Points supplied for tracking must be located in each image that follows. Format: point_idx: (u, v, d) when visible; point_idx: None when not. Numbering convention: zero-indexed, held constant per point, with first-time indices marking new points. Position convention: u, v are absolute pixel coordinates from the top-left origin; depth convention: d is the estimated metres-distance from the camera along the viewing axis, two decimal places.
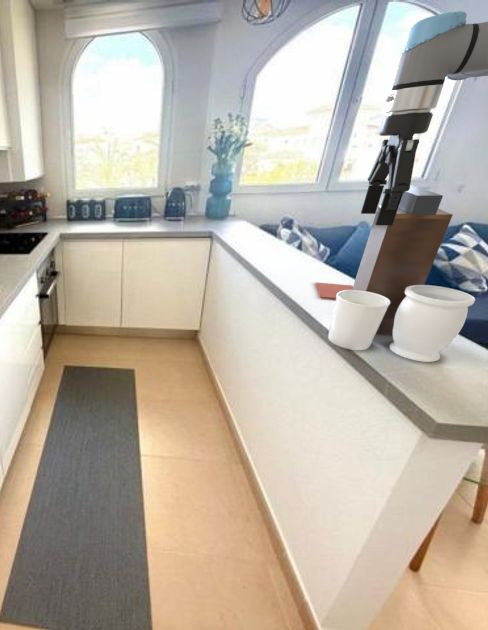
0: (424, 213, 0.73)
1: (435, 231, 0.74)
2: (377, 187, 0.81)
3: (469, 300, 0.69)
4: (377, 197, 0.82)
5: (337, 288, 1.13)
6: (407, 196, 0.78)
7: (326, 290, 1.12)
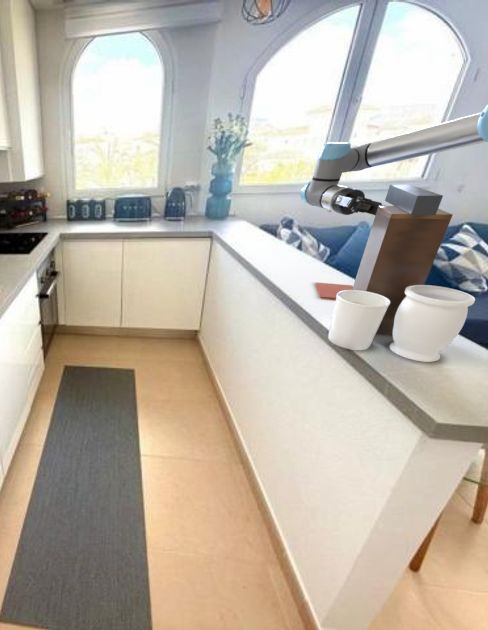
0: (424, 213, 0.73)
1: (435, 231, 0.74)
2: None
3: (469, 300, 0.69)
4: None
5: (337, 288, 1.13)
6: (407, 196, 0.78)
7: (326, 290, 1.12)
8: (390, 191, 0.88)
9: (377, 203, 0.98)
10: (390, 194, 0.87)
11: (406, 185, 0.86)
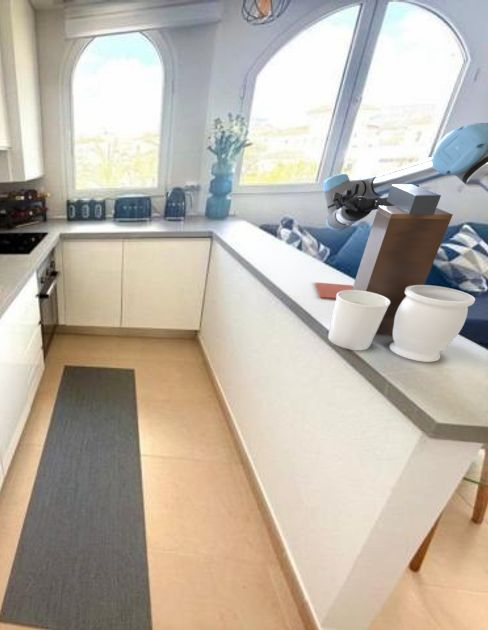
0: (422, 213, 0.74)
1: (435, 231, 0.74)
2: None
3: (469, 300, 0.69)
4: None
5: (337, 288, 1.13)
6: (406, 196, 0.78)
7: (326, 290, 1.12)
8: (391, 191, 0.88)
9: (376, 198, 1.08)
10: (391, 194, 0.87)
11: (407, 185, 0.86)
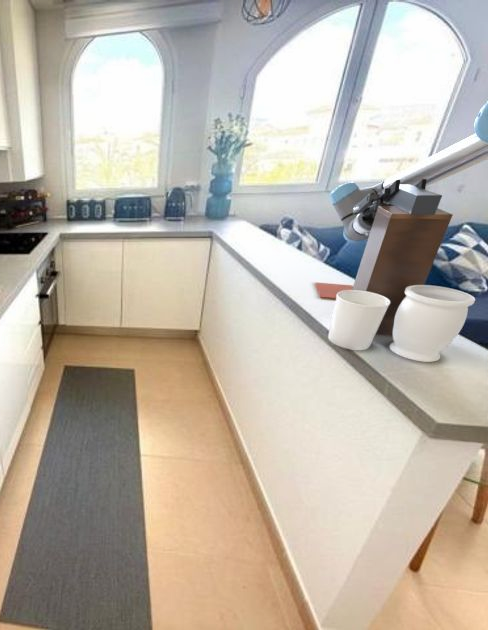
0: (423, 213, 0.74)
1: (435, 231, 0.74)
2: None
3: (469, 300, 0.69)
4: None
5: (337, 288, 1.13)
6: (406, 196, 0.78)
7: (326, 290, 1.12)
8: None
9: None
10: None
11: (406, 185, 0.86)
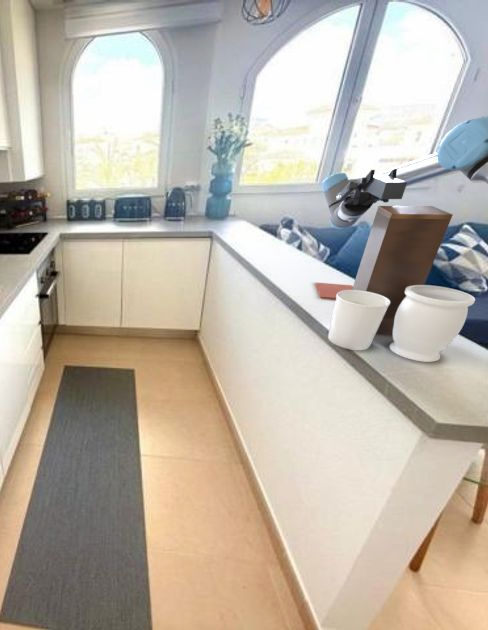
0: (392, 197, 0.85)
1: (435, 231, 0.74)
2: None
3: (469, 300, 0.69)
4: None
5: (337, 288, 1.13)
6: (378, 183, 0.90)
7: (326, 290, 1.12)
8: None
9: None
10: None
11: (380, 175, 0.98)
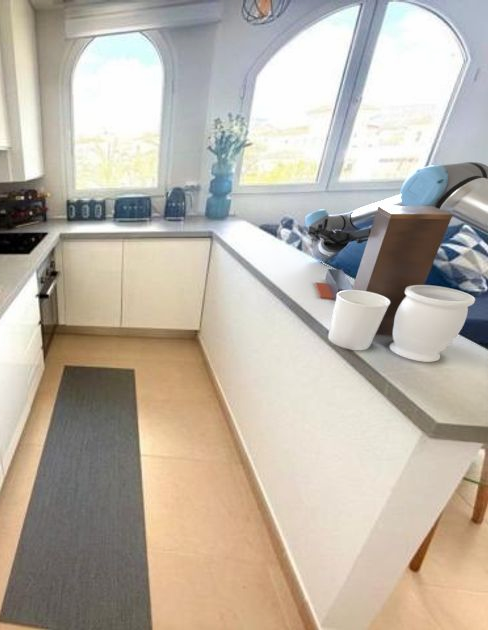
0: None
1: (435, 231, 0.74)
2: None
3: (469, 300, 0.69)
4: None
5: None
6: (334, 285, 1.08)
7: (326, 290, 1.12)
8: (327, 274, 1.18)
9: (350, 232, 1.16)
10: (327, 276, 1.17)
11: (338, 271, 1.16)
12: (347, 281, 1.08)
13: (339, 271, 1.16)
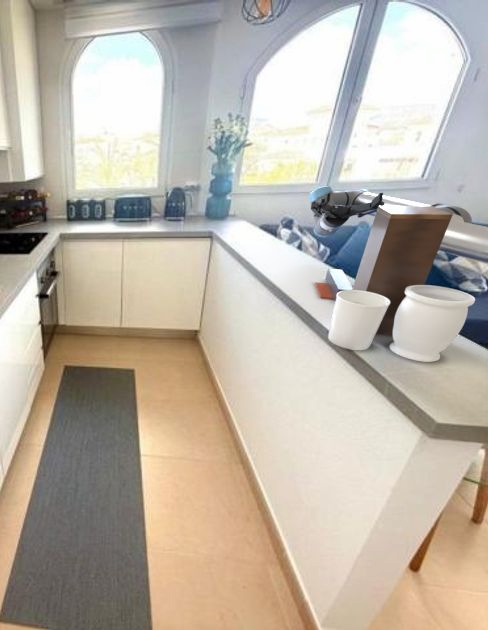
0: None
1: (435, 231, 0.74)
2: (371, 203, 1.13)
3: (469, 300, 0.69)
4: (375, 199, 1.11)
5: None
6: (334, 285, 1.08)
7: (326, 290, 1.12)
8: (327, 274, 1.18)
9: (351, 206, 1.21)
10: (327, 276, 1.17)
11: (338, 271, 1.16)
12: (347, 281, 1.08)
13: (339, 271, 1.16)
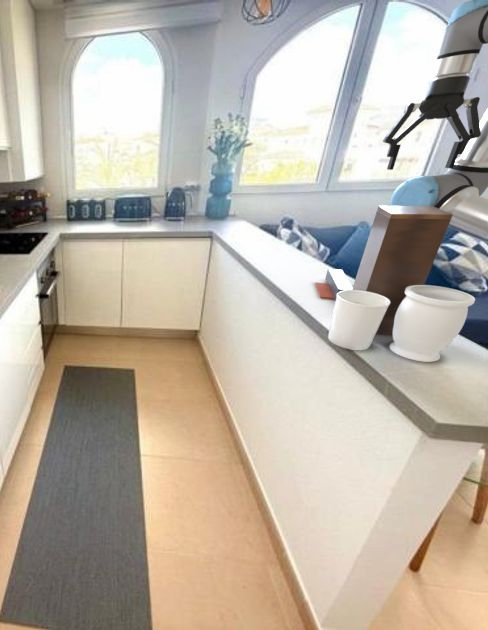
0: None
1: (435, 231, 0.74)
2: (456, 143, 0.92)
3: (469, 300, 0.69)
4: (454, 152, 0.93)
5: None
6: (334, 285, 1.08)
7: (326, 290, 1.12)
8: (327, 274, 1.18)
9: (450, 116, 0.90)
10: (327, 276, 1.17)
11: (338, 271, 1.16)
12: (347, 281, 1.08)
13: (339, 271, 1.16)
